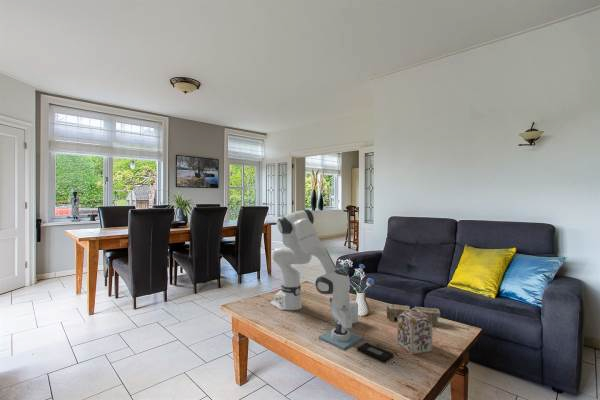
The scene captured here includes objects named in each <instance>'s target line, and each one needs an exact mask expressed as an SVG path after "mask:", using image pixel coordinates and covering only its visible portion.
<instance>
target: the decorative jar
mask: <svg viewBox="0 0 600 400" xmlns="http://www.w3.org/2000/svg"><path fill="white" fill-rule="evenodd" d="M396 331H397V337H396V339H397V341H396V342H397V344H398V345H399V346H401V347H402V348H403V349H405V350H406V352H409V354H410V355H419V354H424V353H429V351H430V352H432V351H433V326H432V322H431V320H430V319H429V317H428V316H427V315H426V314H424V313H422V312H420V311H419V310H417V309H412V308H411V309H410V310H409V311H404V312H403V313H401V314H400V315H399V316H398V322H397V330H396Z"/></svg>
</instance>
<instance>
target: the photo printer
mask: <svg viewBox="0 0 600 400" xmlns="http://www.w3.org/2000/svg"><path fill="white" fill-rule="evenodd" d="M348 309H349V311H350V312H351V316H352V325H353V324H357V323H358V322H359V303H358V302H357V301H355V300H350V307H349V308H348Z"/></svg>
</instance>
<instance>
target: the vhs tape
mask: <svg viewBox="0 0 600 400" xmlns="http://www.w3.org/2000/svg"><path fill="white" fill-rule="evenodd" d="M356 350H357V352H359V353H361V354H363V355H365V356H369V357H370V358H371V359H375V360H377V361H380V362H381V363H383V364H385V363H387V362H388V361H390V360H391V359H392V358H394V353H392V352H391V351H388V350H386V349H383V348H380V347H378V346H376V345H373V344H371V343H368V342H365V343H364V344H361V345H360V346H358V347H357V349H356Z"/></svg>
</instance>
